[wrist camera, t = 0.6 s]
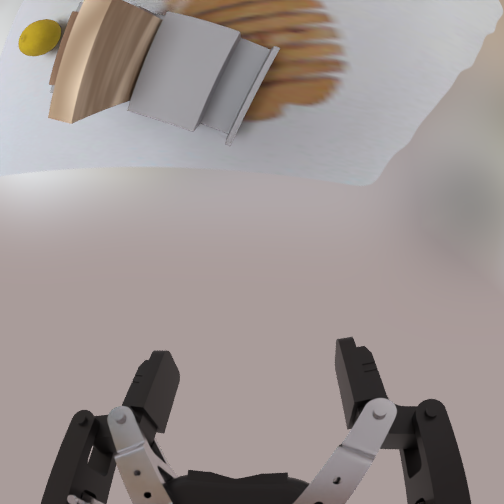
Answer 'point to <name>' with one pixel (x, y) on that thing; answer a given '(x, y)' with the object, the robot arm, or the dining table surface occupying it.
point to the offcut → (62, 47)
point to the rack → (199, 75)
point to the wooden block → (102, 58)
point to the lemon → (39, 37)
